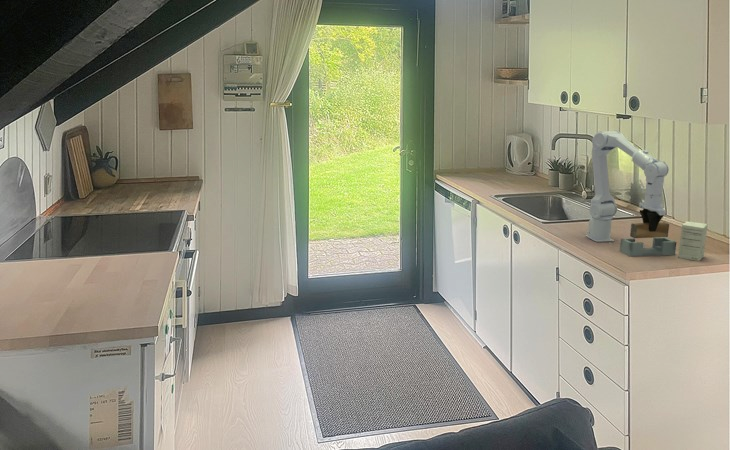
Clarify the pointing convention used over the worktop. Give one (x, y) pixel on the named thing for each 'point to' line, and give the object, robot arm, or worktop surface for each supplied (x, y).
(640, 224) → the tan brown long block
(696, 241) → the supplement box
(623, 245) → the green tray
